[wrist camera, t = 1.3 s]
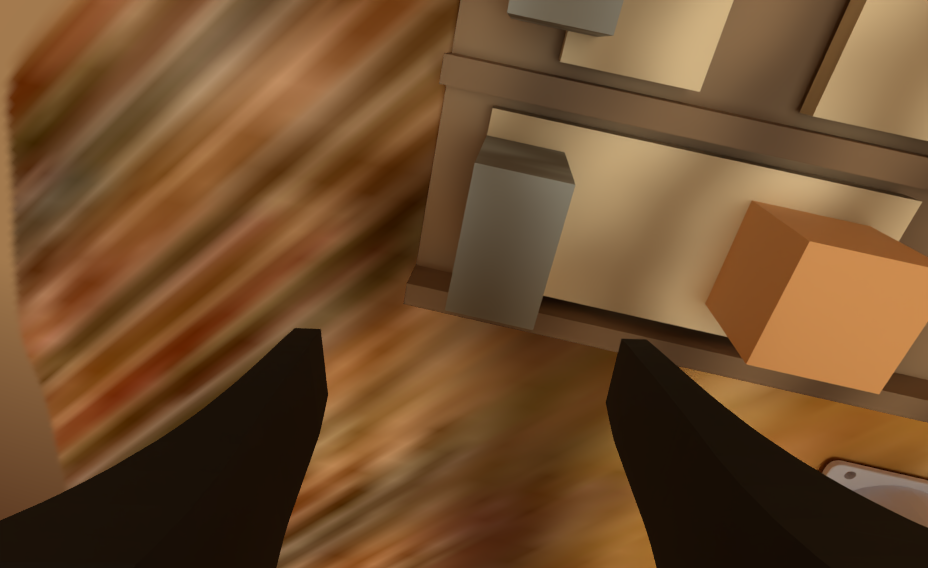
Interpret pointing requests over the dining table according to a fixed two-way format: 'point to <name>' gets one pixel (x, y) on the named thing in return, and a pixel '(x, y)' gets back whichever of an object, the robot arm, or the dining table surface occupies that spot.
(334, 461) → the dining table surface
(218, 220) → the dining table surface
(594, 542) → the dining table surface
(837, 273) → the orange cube
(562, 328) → the lane board
